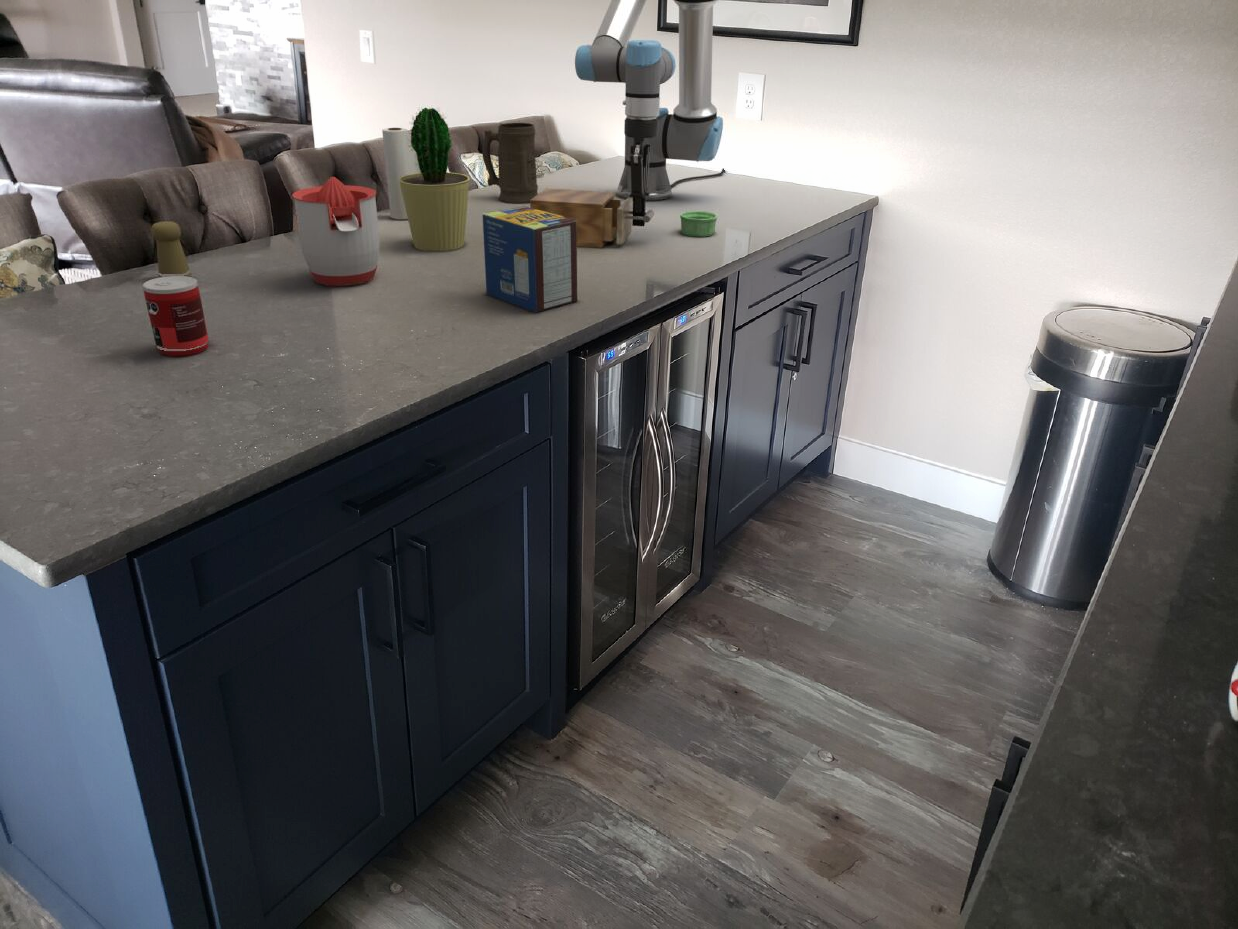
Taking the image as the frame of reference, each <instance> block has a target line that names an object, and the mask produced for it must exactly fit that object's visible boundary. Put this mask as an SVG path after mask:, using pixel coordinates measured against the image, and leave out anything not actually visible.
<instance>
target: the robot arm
mask: <svg viewBox="0 0 1238 929" xmlns="http://www.w3.org/2000/svg"><path fill="white" fill-rule="evenodd" d="M672 1H673V2H674V4H676V6H677V7H678V104H677V105H676V106H675V107H674V108H673V110H672V113H673V114H672V113H670V112H669V109H668V108H667V107H661V106H660V104H661V102H660V100H661V97H660V96H661V95H660V93H661V92H660V90H661V85H663V84H665V83H667V81H669V80H671V78H672V77H673V76H674V74H675V71H676V59H675V56H674V54H673V53H672V52H671V50H669V49H667V48H665V47H663V46H662V44H661V42H660V41H658V40H651V39H650V40H649V39H631V37H632V34H633V32H634V30H635V29H636V28H635V27H636V25H637V23H638V21H639V18H640V16H641V14H642V11H643V9H644V7H645V5H646V2H647V0H610V3H609V5H608V7H607V10H606V12H605V15H604V16H603V19H602V21H601V23H600V26H599V28H598V30H597V33H596V35H595V37H594V39H593V42H592V44H589V43H588V44H585V45H584V44H583V45H580V46H578V47H577V49H576V51H575V56H574V68H575V73H576V76H577V78H578V79H580V81H586V82H593V83H620V84H625V93H624V95H625V97H624V98H625V99H624V100H623V101H622V102H621V103H622V105H623V106H625V108H624V115H625V116H626V117H625V119H624V128H623V129H624V130H623V132H624V167H623V170H622V174H621V177H620V180H619V183H618V186H617V196H618V197H619V198H622V199H625V200H626V199H627V198H632V211H633V214H632V216H638V217H644V216H645V212H646V201H661V200H662V201H663V200H667V199H670V198H671V197H672V188H674V187H675V186H676V185H677V184H680V183H683V182H686V181H692V180H700V179H701V180H702V179H707V178H714V177H720V176H722V175H724V173H726V169H725V168H724V167H723V168H722V169H721V170H720V172H719V173H718V172H717V173H713V174H706V175H699V176H690V177H685V178H681V179H678V180H675V181H674V182H673V183H672V184H671V183H670V179H669V175H668V171H667V160H678V161H691V162H696V163H698V162H711V161H713V160H714V159H715V157H716V156H717V154H718V152H719V147H720V144H721V140H722V136H723V129H724V119H723V117H721V116H720V115H719V116H718V113H717V112H718V110H717V107H716V106H715V105H714V104H713V103H712V81H713V80H712V78H713V72H712V71H713V35H714V34H713V33H714V32H713V30H714V29H713V28H714V5H715V4H716V3H717V2H718V1H719V0H672ZM724 169H725V170H724ZM645 225H646V222H644V221H643V220H636V219H632V227H645Z"/></svg>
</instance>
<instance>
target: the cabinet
mask: <svg viewBox="0 0 1238 929" xmlns="http://www.w3.org/2000/svg"><path fill="white" fill-rule="evenodd" d="M615 194H616V193H615V192H614V191H613V192H612V191H597V190H582V189H566V188H565V189H563V188H550V187H549V188H548V187H547V188H546V187H545V188H544V189H543V190H542V191H540V192H539V193H538V195H536V196H535V197H534V198H532V199H531V200H530V202H529V208H533V209H537V210H541V211H545V212H548V213H552V214H556V215H560V216H564V217H568V218H572V219H576V220H577V247H583V248H596V249H597V248H598V249H602V248H604V246H605V245H607V243H608V241H603V207H604V206H605V205H606V204H607V203H608V202H609V201H610V200H611V199H615Z"/></svg>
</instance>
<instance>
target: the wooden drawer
mask: <svg viewBox="0 0 1238 929" xmlns="http://www.w3.org/2000/svg"><path fill="white" fill-rule="evenodd" d="M632 215H633V200H632V198H627V199H626V198H625V199H624V201H623V202H622V199H621V198H614V199H611V200H610V201H609V202H608V203H607V204H606V205H605V206H604V207H603V241H607V242H612V241H613V240H614V239H615V237H616V245H623V244H624V242H625V241H626V239H628V237H629V236H630V234H631V233H632V231H633V230H632V229H633V226H632V219H636V220H643V221H644V222H645V224H647V223H649V222H650V221H651V220H652V218H653V217H654V216H655V212H654V210H652V209H649V210H647V211H645V216H644V217H638V216H632Z"/></svg>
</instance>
